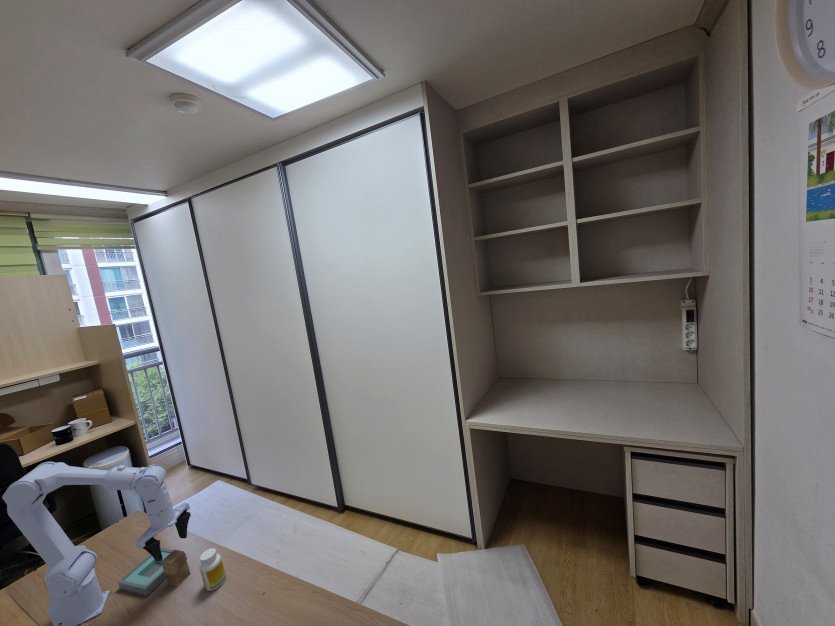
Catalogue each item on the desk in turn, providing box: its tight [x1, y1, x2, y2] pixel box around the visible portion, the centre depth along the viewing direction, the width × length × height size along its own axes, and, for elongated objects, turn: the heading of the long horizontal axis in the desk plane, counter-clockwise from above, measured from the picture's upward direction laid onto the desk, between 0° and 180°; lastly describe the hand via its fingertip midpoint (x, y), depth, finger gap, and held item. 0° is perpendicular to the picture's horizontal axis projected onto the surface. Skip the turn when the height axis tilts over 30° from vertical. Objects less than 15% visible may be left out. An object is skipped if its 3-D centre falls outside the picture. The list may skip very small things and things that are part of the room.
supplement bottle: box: [199, 547, 227, 592], centre depth 96 cm, size 5×5×10 cm
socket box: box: [117, 547, 188, 597], centre depth 103 cm, size 12×12×2 cm
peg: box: [161, 549, 191, 588], centre depth 99 cm, size 4×4×8 cm
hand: (171, 548), depth 98 cm, fingers open, 7 cm apart
